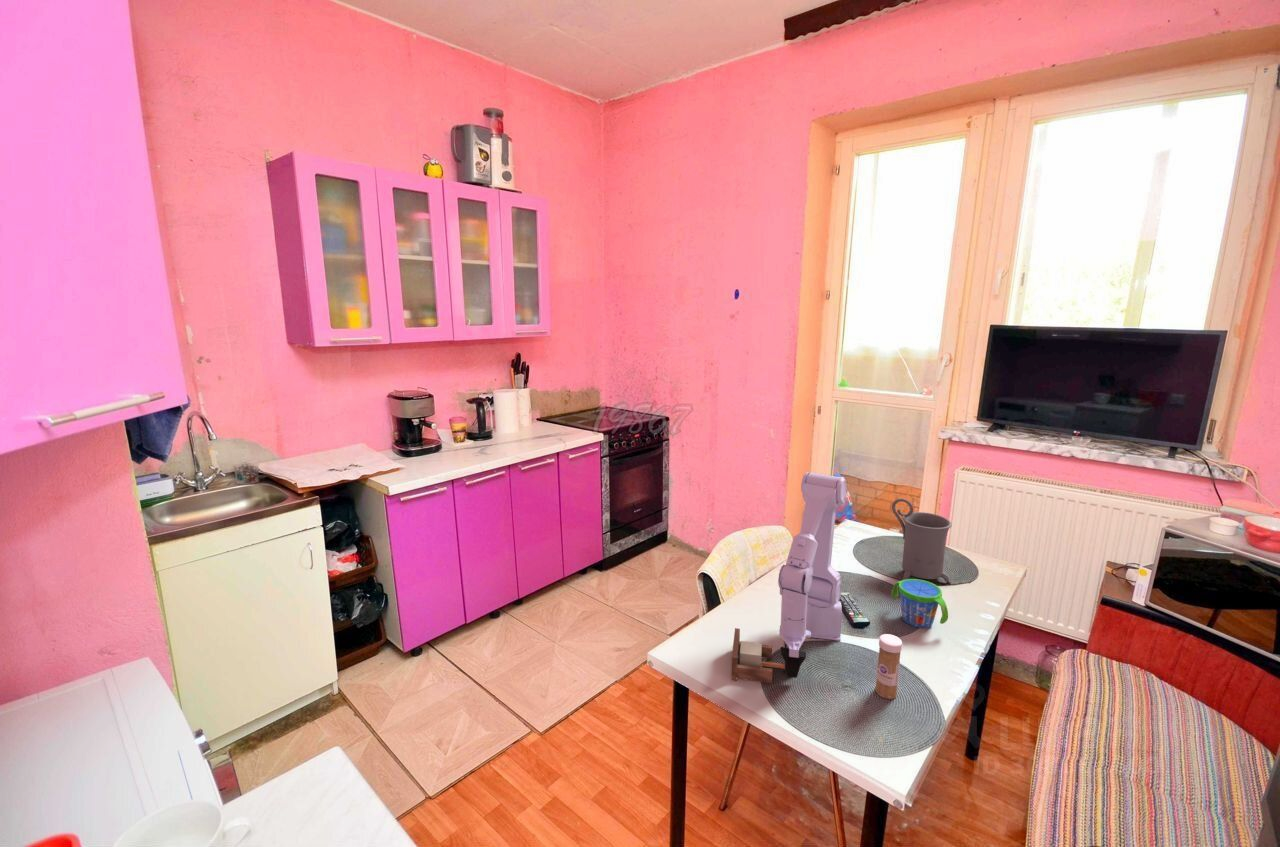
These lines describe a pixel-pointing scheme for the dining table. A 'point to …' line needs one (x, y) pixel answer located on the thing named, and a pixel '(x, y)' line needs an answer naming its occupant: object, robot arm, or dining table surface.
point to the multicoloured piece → (755, 656)
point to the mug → (923, 543)
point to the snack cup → (920, 602)
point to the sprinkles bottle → (888, 666)
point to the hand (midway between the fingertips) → (791, 665)
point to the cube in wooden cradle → (750, 671)
